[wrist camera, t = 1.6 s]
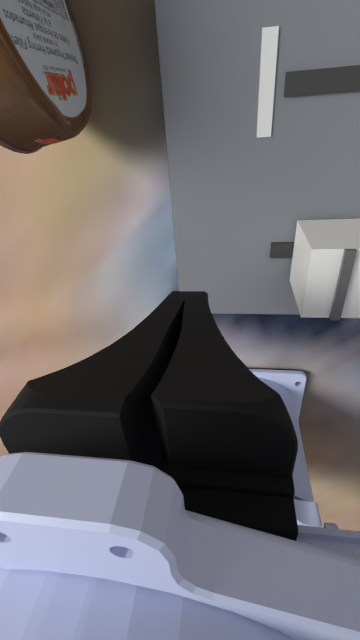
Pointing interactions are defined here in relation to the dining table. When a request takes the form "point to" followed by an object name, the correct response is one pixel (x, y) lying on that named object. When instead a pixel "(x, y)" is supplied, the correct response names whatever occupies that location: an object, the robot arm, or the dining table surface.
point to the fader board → (257, 138)
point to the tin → (40, 75)
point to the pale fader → (327, 268)
